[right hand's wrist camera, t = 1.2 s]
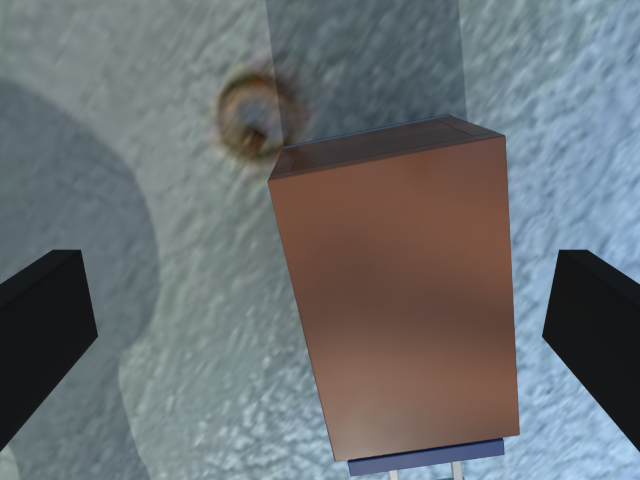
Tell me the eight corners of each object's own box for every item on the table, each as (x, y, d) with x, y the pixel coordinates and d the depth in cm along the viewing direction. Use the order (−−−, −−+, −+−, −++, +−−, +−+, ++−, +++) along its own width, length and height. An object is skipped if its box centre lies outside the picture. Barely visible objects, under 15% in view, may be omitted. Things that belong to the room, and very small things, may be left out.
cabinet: (468, 340, 35) (520, 435, 26) (331, 362, 36) (334, 462, 27) (448, 114, 29) (506, 134, 20) (283, 146, 30) (266, 180, 21)
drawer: (472, 427, 37) (508, 513, 30) (355, 444, 37) (363, 532, 30) (448, 177, 29) (489, 212, 22) (304, 204, 30) (298, 247, 23)
